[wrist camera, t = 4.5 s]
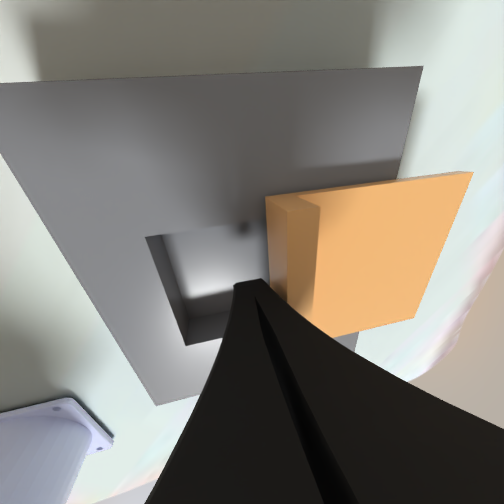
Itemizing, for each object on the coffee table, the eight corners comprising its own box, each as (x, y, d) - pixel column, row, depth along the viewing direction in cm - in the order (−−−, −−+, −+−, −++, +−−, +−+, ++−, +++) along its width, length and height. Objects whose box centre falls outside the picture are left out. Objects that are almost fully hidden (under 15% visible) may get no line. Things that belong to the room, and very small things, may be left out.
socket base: (165, 361, 15) (156, 406, 12) (46, 110, 8) (-42, 84, 5) (330, 323, 17) (353, 354, 14) (363, 91, 9) (423, 65, 7)
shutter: (273, 342, 11) (287, 385, 9) (265, 196, 7) (287, 211, 5) (405, 311, 12) (445, 342, 10) (457, 171, 9) (538, 175, 6)
